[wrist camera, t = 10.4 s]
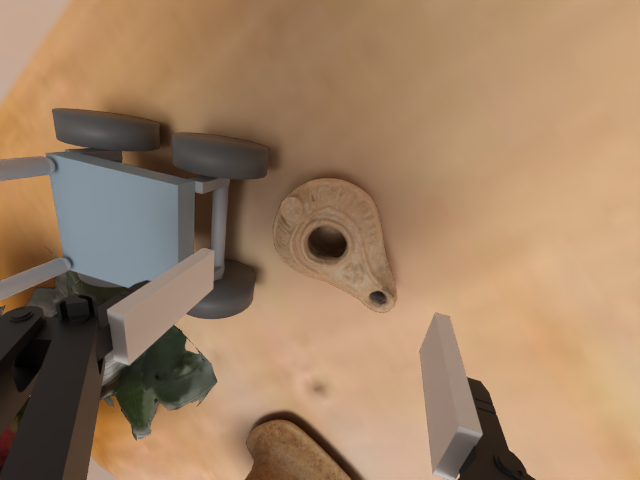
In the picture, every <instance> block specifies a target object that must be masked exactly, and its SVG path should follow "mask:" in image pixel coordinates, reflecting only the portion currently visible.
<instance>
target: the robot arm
mask: <svg viewBox="0 0 640 480" xmlns="http://www.w3.org/2000/svg"><path fill="white" fill-rule="evenodd" d="M214 252H215V251H214V250H210V249H207V248H202V249H200V250H198V251H197V252H195V253H194V254H192V255H191V256H189V257H188V258H186V259H185V260H183V261H181V262H180V263H178V264H177V265H175V266H174V267H172V268H171V269H169V270H168V271H166V272H164V273H163V274H161V275H160V276H158V277H157V278H155V279H154V280H152V281H149V280H145V281H142V282H139V283H136V284H134V285H132V286H131V287H129V288H128V289H126V290H124V291H123V292H121V293H119V295H116V296H115V297H113V298H111V299H110V300H108V301H107V302H105V303H103V304H102V305H100V306H98V307H97V303H96V297H95V296H93V295H91V294H74V295H70V296H67V297H65V298H63V299H61V300H60V301H58V302H57V303H56V305H55V307H56V312H57V316H58V317H45V316H44V312H43V309H42V308H40V307H38V306H25V307H20V308H16V309H13V310H11V311H9V312H7V313H5V314H4V315H2V316H1V317H0V437H1V435H2V434H3V433H4V431H5V430H6V428H7V427H8V426H9V424H10V423H11V421H12V420H13V419H14V417H15V416H16V414H17V413H18V412H19V410H20V409H21V407H22V406H23V405H24V403H25V402H26V400H27V399H28V398H29V396H30V395H31V396H30V398H29V401H28V404H27V406H26V409H25V411H24V414H23V417H22V419H21V422H20V424H19V427H18V430H17V432H16V435H15V438H14V440H13V443H12V445H11V448H10V451H9V453H8V456H7V458H6V461H5V464H4V466H3V469H2V472H1V474H0V480H86V479H87V473H88V467H89V461H90V455H91V449H92V443H93V437H94V431H95V424H96V418H97V412H98V406H99V400H100V394H101V388H102V382H103V376H104V369H105V363H106V360H105V356H106V355H107V354H108V353H109V352H111V351H112V350H113V357H114V360H115V361H118V362H121V363H123V364H126V365H130V364H131V363H132V362H133V361H134V360H136V359H137V358H138V357H139V356H140V355H141V354H142V353H143V352H144V351H145V350H147V349H148V348H149V347H150V346H151V345H152V344H153V343H154V342H155V341H156V340H158V339H159V338H160V337H161V336H162V335H163V334H164V333H165V332H166V331H167V330H169V329H170V328H171V327H172V326H173V325H174V324H175V323H176V322H177V321H178V320H180V319H181V318H182V317H183V316H184V315H185V314H186V313H187V312H188V311H189V310H191V309H192V308H193V307H194V306H195V305H196V304H197V303H198V302H199V301H200V300H202V299H203V298H204V297H205V296H206V295H207V294H208V293H209V292H210V291H211V290H213V281H214ZM420 360H421V369H422V379H423V388H424V398H425V407H426V417H427V426H428V435H429V445H430V454H431V464H432V473H433V475H436V476H439V477H442V478H444V479H447V480H455V479H456V477H457V475H458V474H459V473H460V478H459V479H458V480H535V479H534V478H533V477H531V476H530V475H528V474H527V472H526V469H525V467H524V466H523V464H522V462H521V461H520V460H519V459H518V458H517V457H516V456H515V454H513V453H512V452H511V451H509V449H508V446H507V443H506V440H505V437H504V434H503V432H502V429H501V426H500V423H499V420H498V417H497V415H496V411H495V409H494V406H493V403H492V400H491V397H490V394H489V392H488V391H487V389H486V388H485V387H484V385H483V384H482V383H481V381H478V380H474V379H471V378H468V377H467V376H466V373H465V369H464V365H463V362H462V358H461V355H460V351H459V348H458V344H457V341H456V337H455V333H454V330H453V326H452V323H451V319H450V316H446V315H443V314H439V313H436V312H435V314H434V316H433V319H432V321H431V324H430V326H429V329H428V331H427V334H426V336H425V339H424V341H423V343H422V346H421V348H420Z"/></svg>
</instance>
